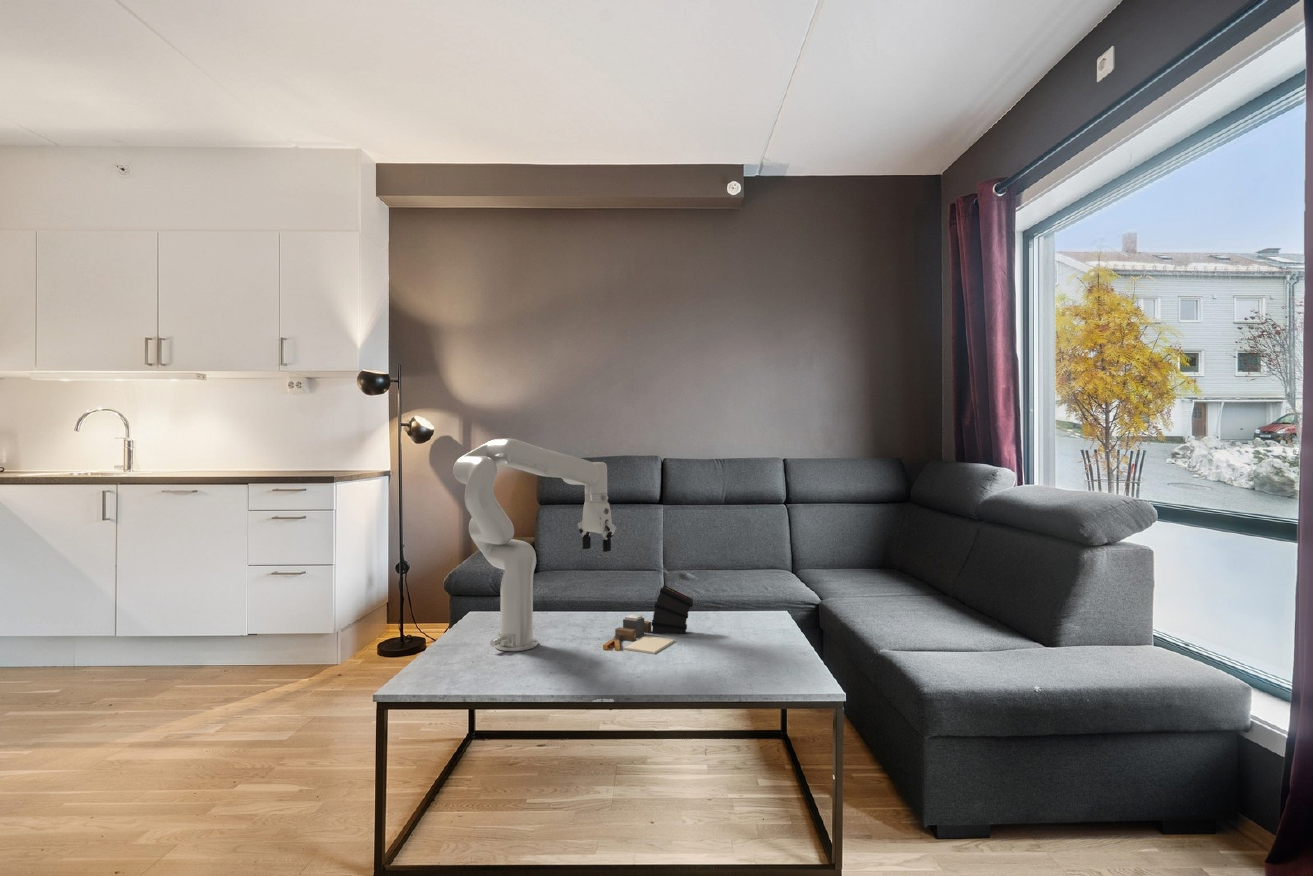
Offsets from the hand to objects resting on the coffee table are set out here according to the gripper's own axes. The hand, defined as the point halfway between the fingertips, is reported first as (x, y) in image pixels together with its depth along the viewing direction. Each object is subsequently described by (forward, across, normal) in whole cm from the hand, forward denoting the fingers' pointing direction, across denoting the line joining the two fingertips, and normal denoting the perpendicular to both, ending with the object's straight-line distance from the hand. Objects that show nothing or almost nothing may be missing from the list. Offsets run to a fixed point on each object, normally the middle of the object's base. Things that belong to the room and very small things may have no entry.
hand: (596, 550), depth 217 cm
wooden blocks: (+26, -16, -1) cm, 30 cm away
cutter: (+26, -19, +11) cm, 33 cm away
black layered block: (+26, -24, -11) cm, 37 cm away
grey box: (+26, -16, -1) cm, 30 cm away
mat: (+26, -27, +4) cm, 38 cm away
